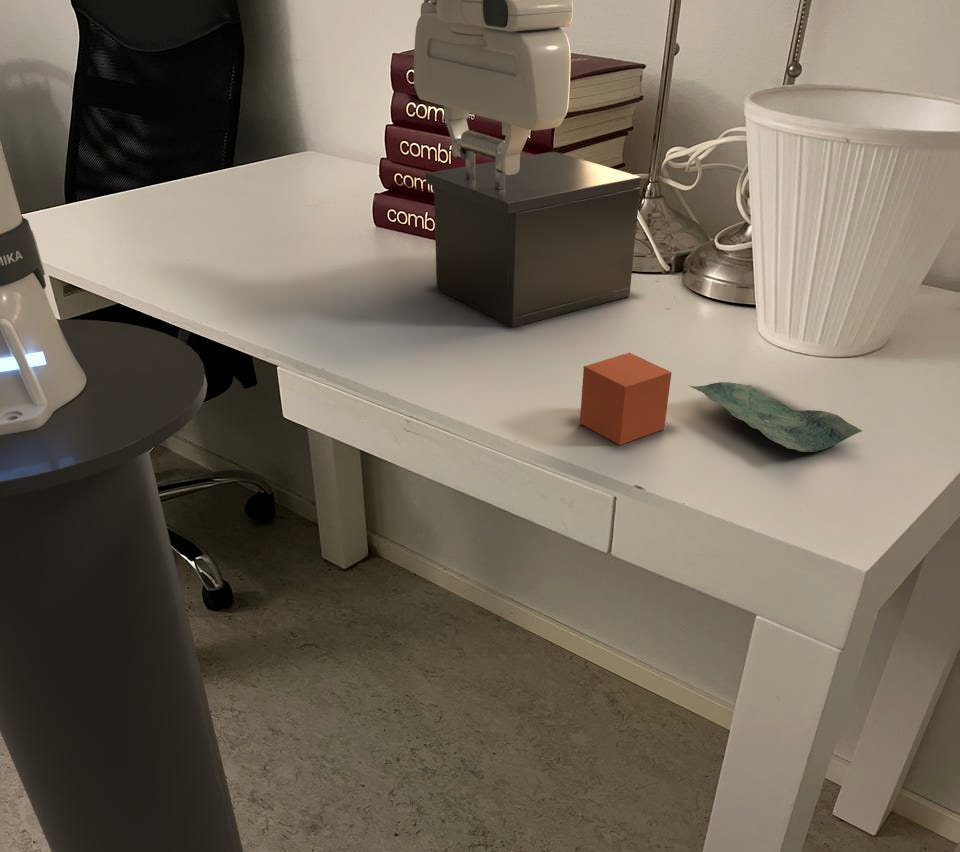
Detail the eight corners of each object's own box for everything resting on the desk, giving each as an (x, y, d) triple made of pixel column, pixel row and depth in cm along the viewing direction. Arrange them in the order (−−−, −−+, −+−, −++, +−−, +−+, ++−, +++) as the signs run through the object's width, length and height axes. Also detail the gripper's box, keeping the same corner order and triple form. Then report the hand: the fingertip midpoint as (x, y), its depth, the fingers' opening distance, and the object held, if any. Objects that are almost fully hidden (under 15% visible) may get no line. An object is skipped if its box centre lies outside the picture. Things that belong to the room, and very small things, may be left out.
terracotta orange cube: (619, 445, 78) (625, 387, 74) (579, 423, 81) (583, 366, 78) (664, 429, 80) (672, 371, 77) (623, 408, 83) (629, 352, 80)
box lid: (506, 214, 90) (508, 152, 87) (425, 183, 99) (423, 126, 96) (640, 187, 98) (646, 129, 95) (553, 161, 107) (556, 107, 104)
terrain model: (682, 404, 83) (685, 383, 82) (750, 389, 86) (755, 369, 85) (785, 467, 74) (791, 445, 73) (857, 449, 78) (864, 427, 76)
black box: (512, 327, 98) (515, 213, 91) (436, 289, 107) (433, 182, 100) (629, 296, 105) (640, 187, 98) (549, 263, 114) (553, 161, 107)
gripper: (394, -11, 91) (401, 150, 99) (527, 8, 78) (522, 192, 86) (449, -15, 94) (452, 142, 102) (586, 4, 81) (576, 182, 89)
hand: (485, 165), depth 94 cm, fingers closed on box lid, 6 cm apart
